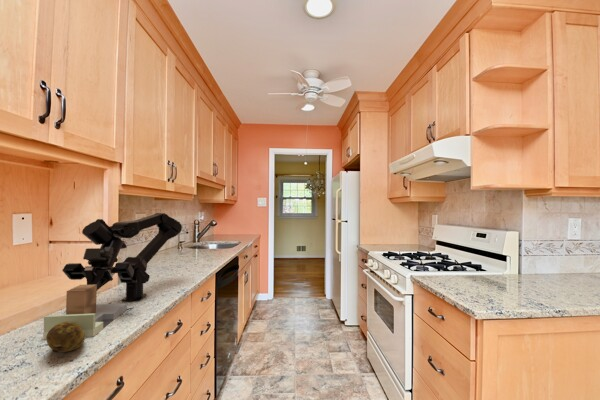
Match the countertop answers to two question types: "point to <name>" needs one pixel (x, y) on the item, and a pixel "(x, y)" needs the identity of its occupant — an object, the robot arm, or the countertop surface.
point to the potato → (65, 337)
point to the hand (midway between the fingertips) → (88, 295)
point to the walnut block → (81, 300)
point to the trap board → (87, 319)
